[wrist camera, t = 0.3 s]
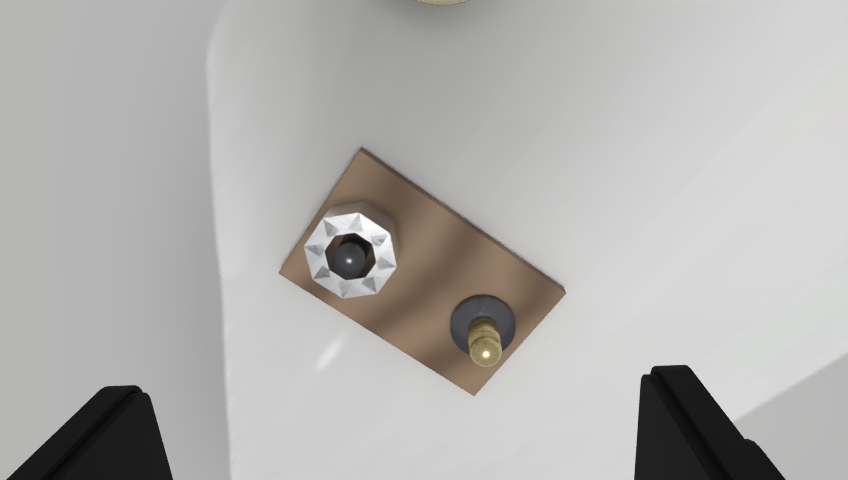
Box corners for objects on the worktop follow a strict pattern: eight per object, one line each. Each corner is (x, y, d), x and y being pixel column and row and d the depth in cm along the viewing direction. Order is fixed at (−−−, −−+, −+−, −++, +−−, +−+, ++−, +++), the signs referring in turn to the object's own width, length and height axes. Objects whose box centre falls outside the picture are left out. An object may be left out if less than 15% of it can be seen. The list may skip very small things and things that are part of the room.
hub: (445, 299, 46) (445, 332, 41) (510, 290, 46) (518, 322, 41) (455, 354, 48) (456, 393, 43) (518, 346, 48) (526, 385, 42)
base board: (282, 267, 47) (278, 273, 46) (361, 147, 44) (359, 150, 42) (473, 388, 51) (474, 396, 50) (563, 287, 47) (566, 293, 46)
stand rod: (340, 230, 45) (328, 250, 40) (368, 225, 44) (359, 246, 40) (346, 256, 46) (335, 280, 41) (374, 252, 45) (366, 275, 41)
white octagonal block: (308, 209, 44) (297, 222, 41) (389, 196, 44) (384, 208, 40) (327, 283, 46) (318, 301, 43) (405, 272, 46) (401, 290, 43)
